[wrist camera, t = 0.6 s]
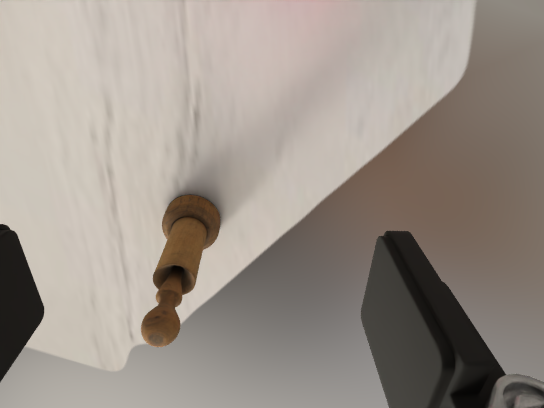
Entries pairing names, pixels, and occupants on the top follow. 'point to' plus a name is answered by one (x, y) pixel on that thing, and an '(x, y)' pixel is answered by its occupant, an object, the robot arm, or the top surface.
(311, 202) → the top surface
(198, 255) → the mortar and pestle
